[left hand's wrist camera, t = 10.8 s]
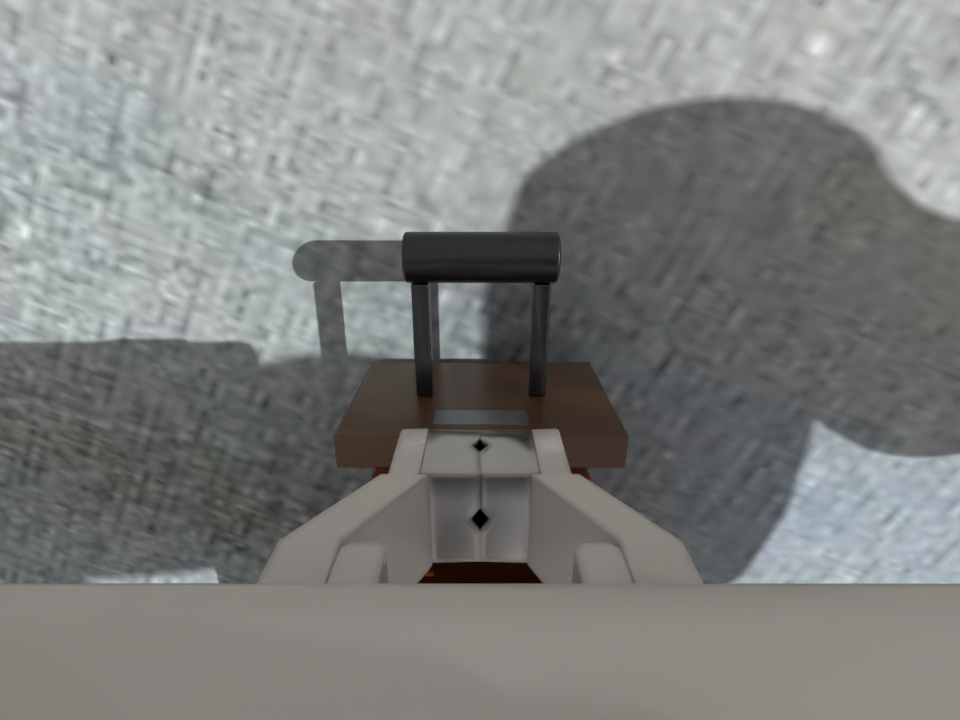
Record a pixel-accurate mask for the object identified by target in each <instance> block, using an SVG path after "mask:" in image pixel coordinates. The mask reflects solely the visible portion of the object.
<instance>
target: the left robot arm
mask: <svg viewBox="0 0 960 720" xmlns="http://www.w3.org/2000/svg"><path fill="white" fill-rule="evenodd" d="M478 561H480V562H517V563H528V566H529V567H530V568H531V570H532V571H533V572H534V573H535V574H536V576H537V577H538V578H539V579H540V581H541V582H542V583H543V584H417V583H418V582H419V581H420V580H421V579H422V577H423V576H424V575H425V574H426V573H427V571H428V570H429V569H430V568H431V566H432V563H443V562H478ZM0 720H960V584H704V582H703V580H702V578H701V576H700V574H699V573H698V571H697V569H696V567H695V565H694V563H693V561H692V559H691V557H690V555H689V553H688V552H687V550H686V548H685V546H684V544H683V542H682V541H681V540H680V539H678V538H676V537H675V536H673V535H672V534H670V533H669V532H667V531H666V530H664V529H663V528H661V527H660V526H658V525H657V524H655V523H653V522H652V521H650V520H649V519H647V518H646V517H644V516H643V515H641V514H640V513H638V512H637V511H635V510H634V509H632V508H630V507H629V506H627V505H626V504H624V503H623V502H621V501H620V500H618V499H617V498H615V497H614V496H612V495H611V494H609V493H607V492H606V491H604V490H603V489H601V488H600V487H598V486H597V485H595V484H594V483H592V482H591V481H589V480H587V479H586V478H584V477H583V476H581V475H580V474H572V473H571V470H570V466H569V463H568V460H567V456H566V453H565V450H564V446H563V443H562V440H561V436H560V433H559V430H558V429H556V428H552V429H506V430H455V429H429V430H428V428H424V429H403V430H402V431H401V432H400V436H399V439H398V442H397V446H396V449H395V453H394V456H393V460H392V463H391V466H390V470H389V473H388V474H380V475H379V476H377V477H376V478H374V479H372V480H371V481H369V482H368V483H366V484H365V485H363V486H362V487H360V488H359V489H357V490H356V491H354V492H352V493H351V494H349V495H348V496H346V497H345V498H343V499H342V500H340V501H339V502H337V503H335V504H334V505H332V506H331V507H329V508H328V509H326V510H325V511H323V512H322V513H320V514H319V515H317V516H315V517H314V518H312V519H311V520H309V521H308V522H306V523H305V524H303V525H302V526H300V527H299V528H297V529H295V530H294V531H292V532H291V533H289V534H288V535H286V536H285V537H283V538H282V539H280V540H279V541H278V543H277V545H276V546H275V548H274V550H273V552H272V554H271V556H270V558H269V560H268V561H267V563H266V565H265V567H264V569H263V571H262V573H261V575H260V576H259V578H258V580H257V582H256V583H48V584H0Z"/></svg>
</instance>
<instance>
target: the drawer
mask: <svg viewBox="0 0 960 720" xmlns="http://www.w3.org/2000/svg"><path fill="white" fill-rule="evenodd" d="M560 264H561V243H560V237H559V234H558V233H557V232H406V233H404V236H403V240H402V268H403V275H404V279H405V281H406V282H408V283H412V285H411V287H412V308H413V329H414V349H415V362H373V363H372V365H371V367H370V368H369V370H368V372H367V374H366V376H365V378H364V380H363V382H362V383H361V385H360V387H359V389H358V391H357V393H356V395H355V397H354V399H353V400H352V402H351V404H350V406H349V408H348V410H347V412H346V414H345V416H344V417H343V419H342V421H341V423H340V425H339V427H338V429H337V431H336V433H335V434H334V444H335V452H336V461H337V467H375V469H374V471H373V474H372V477H371V480H372V479H374V478H376V477H377V476H379V475H380V474H388V473H389V470H390V466H391V463H392V460H393V456H394V453H395V449H396V446H397V442H398V439H399V436H400V432H401V431H402V430H403V429H424V428H428V430H429V429H455V430H506V429H552V428H556V429H558V430H559V433H560V436H561V440H562V443H563V446H564V450H565V453H566V456H567V460H568V463H569V466H570V470H571V473H572V474H580V475H581V476H583V477H584V478H586V479H587V480H589V481H591V478H590V475H589V472H588V469H587V468H624V467H625V463H626V455H627V447H628V438H629V436H628V434H627V432H626V430H625V429H624V427H623V425H622V423H621V421H620V419H619V417H618V415H617V413H616V412H615V410H614V408H613V406H612V404H611V402H610V400H609V398H608V397H607V395H606V393H605V391H604V389H603V387H602V385H601V383H600V381H599V380H598V378H597V376H596V374H595V372H594V370H593V368H592V366H591V364H590V363H583V362H547V355H548V336H549V316H550V297H551V284H550V283H555V282H557V280H558V278H559V273H560ZM430 283H532V306H531V333H530V359H529V362H433V350H432V322H431V293H430ZM371 480H370V481H371ZM591 482H592V481H591ZM417 584H543V583H542V582H541V581H540V579H539V578H538V577H537V576H536V574H535V573H534V572H533V571H532V570H531V568H530V567H529V566H528V563H517V562H480V561H478V562H443V563H432V566H431V568H430V569H429V570H428V571H427V573H426V574H425V575H424V576H423V577H422V579H421V580H420V581H419V582H418V583H417Z"/></svg>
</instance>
